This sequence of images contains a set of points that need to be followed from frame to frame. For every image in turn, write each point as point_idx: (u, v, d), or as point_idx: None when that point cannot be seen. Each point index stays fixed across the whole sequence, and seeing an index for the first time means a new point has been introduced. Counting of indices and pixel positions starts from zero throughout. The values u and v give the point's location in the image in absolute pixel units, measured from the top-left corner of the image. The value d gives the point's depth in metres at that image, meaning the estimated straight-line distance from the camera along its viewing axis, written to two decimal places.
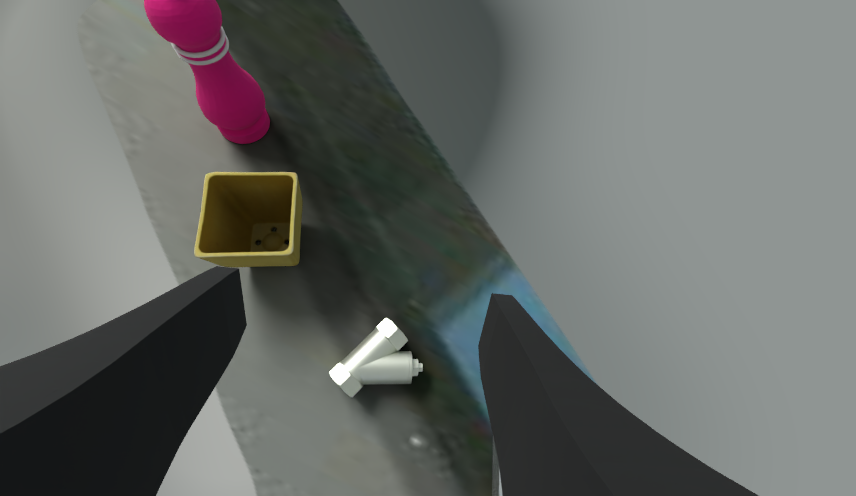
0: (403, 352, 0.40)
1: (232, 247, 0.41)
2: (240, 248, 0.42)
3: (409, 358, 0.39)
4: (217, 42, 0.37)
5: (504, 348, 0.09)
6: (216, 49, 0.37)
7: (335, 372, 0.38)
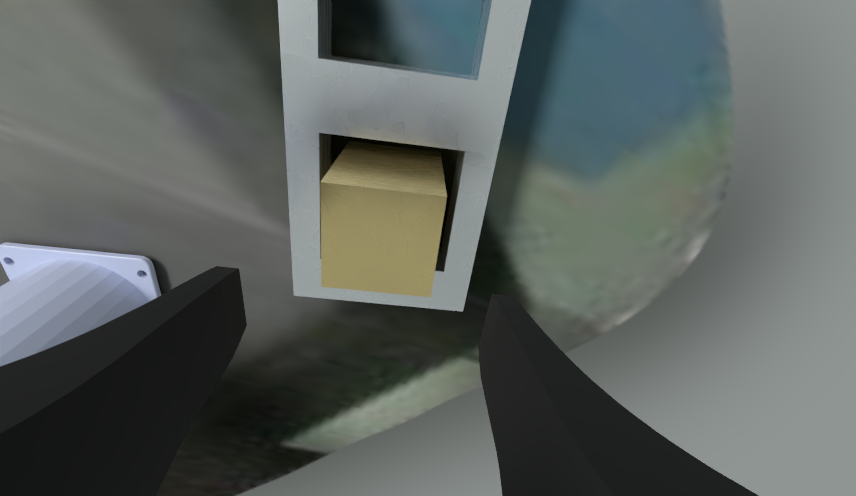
0: None
1: None
2: None
3: None
4: None
5: (504, 348, 0.09)
6: None
7: None
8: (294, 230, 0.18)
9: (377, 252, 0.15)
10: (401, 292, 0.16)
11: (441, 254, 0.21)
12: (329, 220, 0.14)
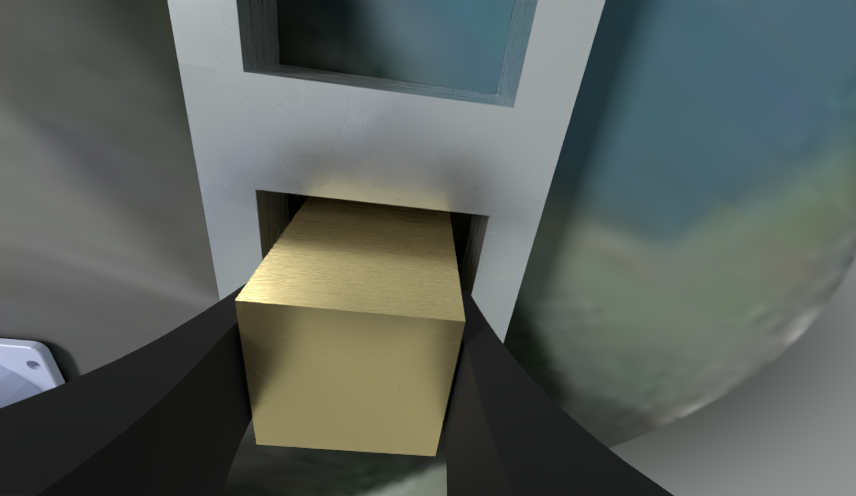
0: None
1: None
2: None
3: None
4: None
5: None
6: None
7: None
8: None
9: (346, 400, 0.09)
10: (387, 450, 0.10)
11: None
12: (259, 356, 0.08)
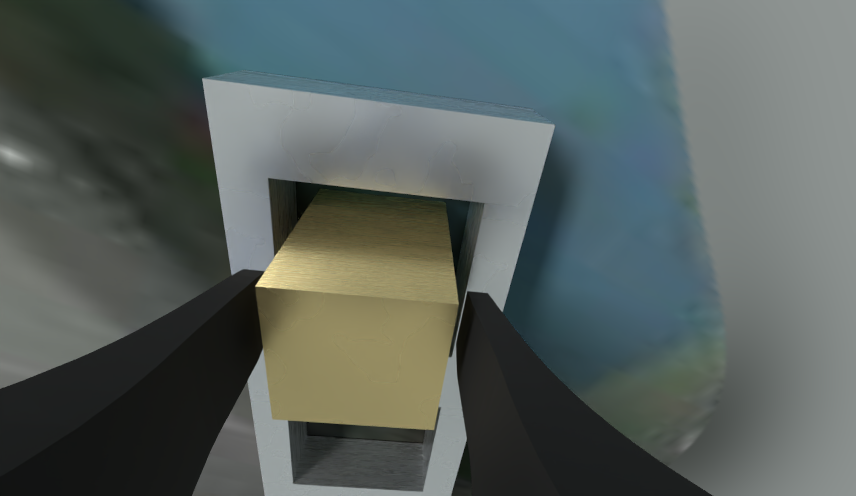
0: None
1: None
2: None
3: None
4: None
5: (476, 346, 0.09)
6: None
7: None
8: (264, 464, 0.17)
9: (353, 377, 0.10)
10: (390, 424, 0.11)
11: (422, 457, 0.20)
12: (275, 337, 0.09)
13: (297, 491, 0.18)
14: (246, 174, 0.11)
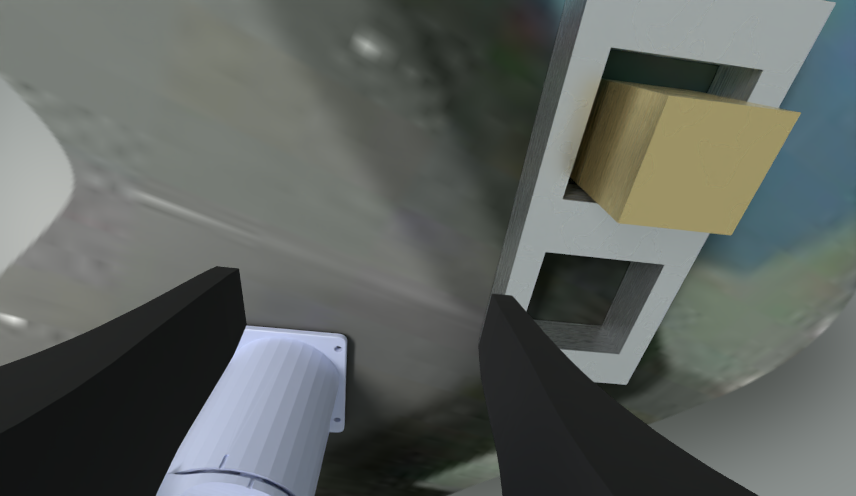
0: None
1: None
2: None
3: None
4: None
5: (504, 348, 0.09)
6: None
7: None
8: None
9: (696, 182, 0.13)
10: (702, 229, 0.14)
11: (606, 333, 0.24)
12: (658, 143, 0.13)
13: None
14: (596, 43, 0.14)
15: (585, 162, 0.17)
